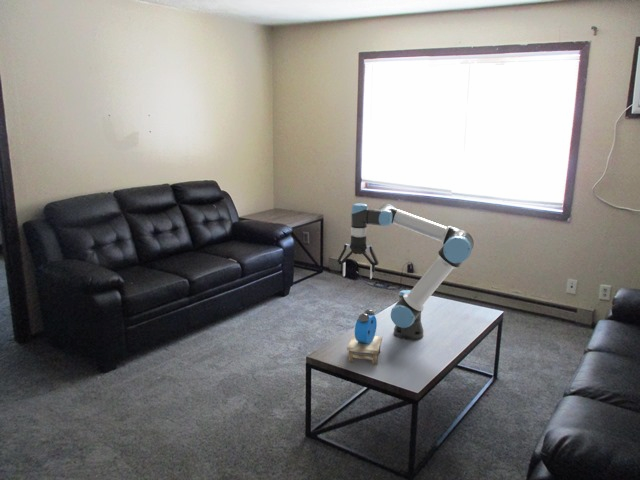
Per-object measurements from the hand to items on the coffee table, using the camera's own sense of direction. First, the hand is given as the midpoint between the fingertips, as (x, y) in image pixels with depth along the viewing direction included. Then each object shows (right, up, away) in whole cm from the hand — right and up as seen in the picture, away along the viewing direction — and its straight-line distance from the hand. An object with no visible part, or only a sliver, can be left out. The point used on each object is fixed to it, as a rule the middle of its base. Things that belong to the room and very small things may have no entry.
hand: (357, 277), depth 267 cm
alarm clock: (+3, -29, -17) cm, 34 cm away
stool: (+2, -36, -15) cm, 39 cm away
